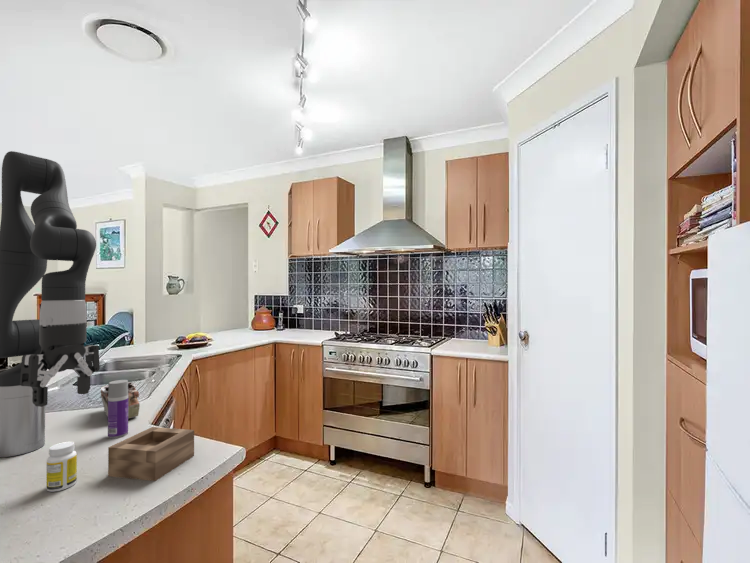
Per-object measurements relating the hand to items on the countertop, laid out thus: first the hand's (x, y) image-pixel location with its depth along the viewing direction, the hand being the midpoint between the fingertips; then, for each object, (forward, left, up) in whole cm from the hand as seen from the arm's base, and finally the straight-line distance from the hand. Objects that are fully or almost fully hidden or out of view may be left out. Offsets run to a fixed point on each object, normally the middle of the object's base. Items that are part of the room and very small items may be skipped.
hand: (63, 399), depth 76 cm
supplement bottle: (0, 0, -18) cm, 18 cm away
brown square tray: (+12, +11, -18) cm, 24 cm away
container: (-12, +25, -18) cm, 33 cm away
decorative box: (-28, +39, -18) cm, 51 cm away
